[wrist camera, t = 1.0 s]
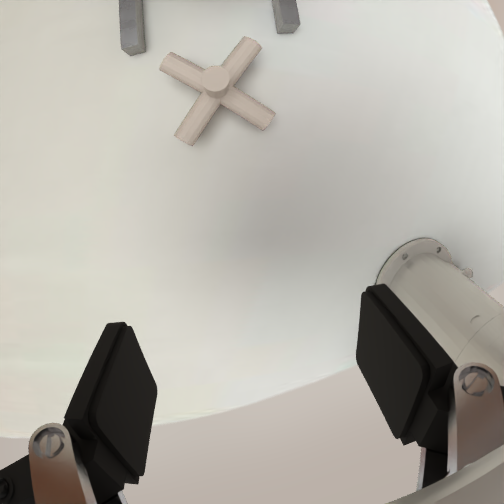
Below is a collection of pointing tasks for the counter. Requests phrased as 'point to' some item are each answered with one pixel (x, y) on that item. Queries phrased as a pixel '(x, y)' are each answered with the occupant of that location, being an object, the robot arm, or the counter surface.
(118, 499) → the robot arm
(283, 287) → the counter surface
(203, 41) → the counter surface
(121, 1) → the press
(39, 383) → the counter surface
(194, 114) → the pipe connector
